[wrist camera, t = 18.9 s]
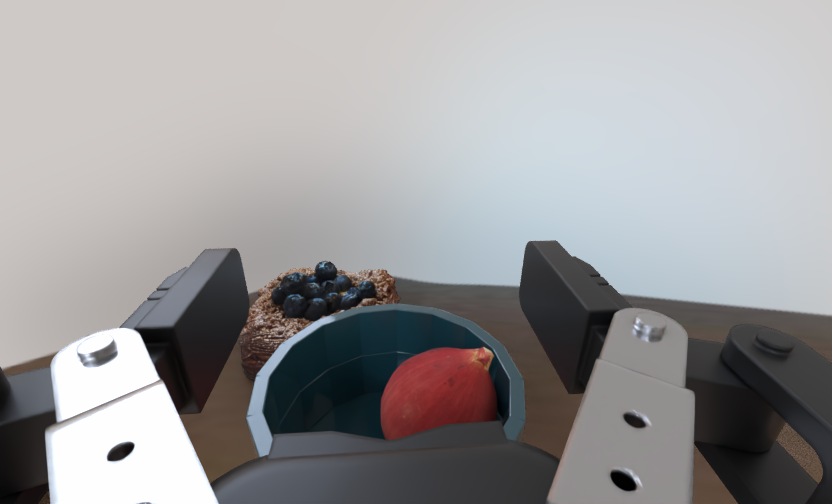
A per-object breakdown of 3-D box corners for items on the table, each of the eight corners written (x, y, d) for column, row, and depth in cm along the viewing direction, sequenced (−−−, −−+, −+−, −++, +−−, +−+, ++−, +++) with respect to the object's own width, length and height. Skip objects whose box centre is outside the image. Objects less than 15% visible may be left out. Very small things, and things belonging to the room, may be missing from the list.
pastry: (392, 392, 27) (390, 321, 25) (219, 385, 28) (199, 314, 25) (404, 303, 37) (404, 245, 35) (276, 298, 38) (267, 241, 35)
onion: (338, 410, 22) (419, 296, 20) (416, 418, 25) (492, 321, 23) (372, 518, 17) (479, 384, 16) (461, 510, 21) (559, 400, 19)
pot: (422, 365, 30) (424, 283, 27) (559, 508, 20) (586, 408, 17) (247, 445, 24) (222, 350, 20) (329, 701, 14) (306, 599, 11)
